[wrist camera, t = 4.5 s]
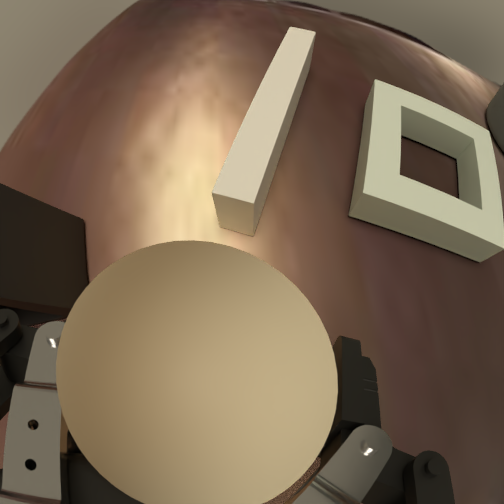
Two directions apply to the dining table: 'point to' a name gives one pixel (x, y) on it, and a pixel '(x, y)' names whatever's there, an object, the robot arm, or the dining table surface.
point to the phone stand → (39, 258)
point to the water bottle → (497, 117)
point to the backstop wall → (263, 136)
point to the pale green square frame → (417, 194)
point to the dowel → (196, 376)
